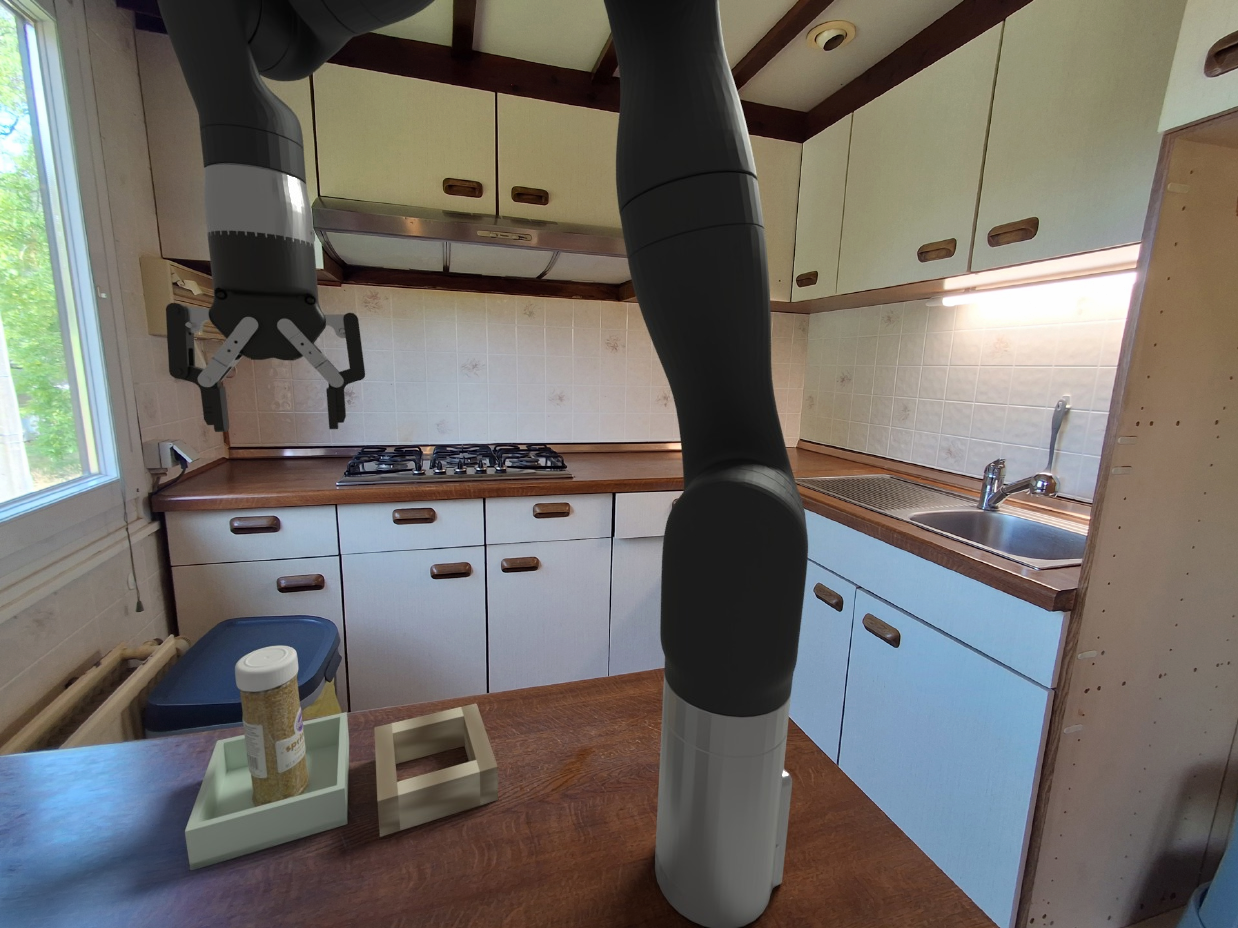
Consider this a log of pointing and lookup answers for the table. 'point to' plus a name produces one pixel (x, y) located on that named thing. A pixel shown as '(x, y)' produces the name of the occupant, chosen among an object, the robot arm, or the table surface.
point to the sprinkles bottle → (272, 723)
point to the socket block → (440, 788)
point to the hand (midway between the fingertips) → (280, 429)
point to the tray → (241, 828)
